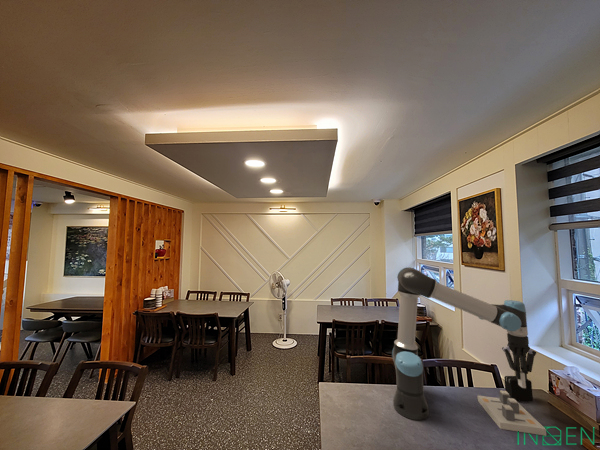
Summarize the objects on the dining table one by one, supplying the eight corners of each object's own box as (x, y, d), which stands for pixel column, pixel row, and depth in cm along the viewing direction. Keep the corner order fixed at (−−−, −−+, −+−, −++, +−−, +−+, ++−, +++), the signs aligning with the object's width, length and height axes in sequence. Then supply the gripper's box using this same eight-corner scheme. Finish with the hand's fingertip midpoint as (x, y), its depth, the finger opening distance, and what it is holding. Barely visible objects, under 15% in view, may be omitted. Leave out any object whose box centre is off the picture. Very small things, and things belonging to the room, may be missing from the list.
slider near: (506, 419, 101) (505, 408, 102) (502, 415, 104) (501, 403, 105) (514, 421, 101) (514, 409, 101) (510, 416, 104) (509, 404, 104)
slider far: (503, 403, 112) (502, 393, 112) (499, 399, 115) (499, 389, 115) (510, 404, 111) (510, 394, 112) (507, 400, 114) (506, 390, 115)
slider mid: (511, 412, 106) (510, 401, 107) (507, 408, 109) (506, 397, 110) (519, 413, 106) (518, 402, 106) (515, 409, 108) (514, 398, 109)
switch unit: (500, 428, 100) (499, 422, 100) (477, 400, 118) (477, 395, 119) (546, 435, 96) (545, 428, 97) (515, 405, 115) (515, 399, 115)
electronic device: (533, 402, 118) (531, 380, 119) (512, 401, 118) (511, 380, 119) (525, 396, 122) (523, 376, 123) (505, 396, 122) (504, 375, 123)
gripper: (506, 336, 112) (510, 389, 110) (539, 338, 109) (545, 392, 107) (497, 330, 120) (501, 380, 117) (527, 332, 117) (532, 383, 114)
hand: (522, 386), depth 112 cm, fingers closed
